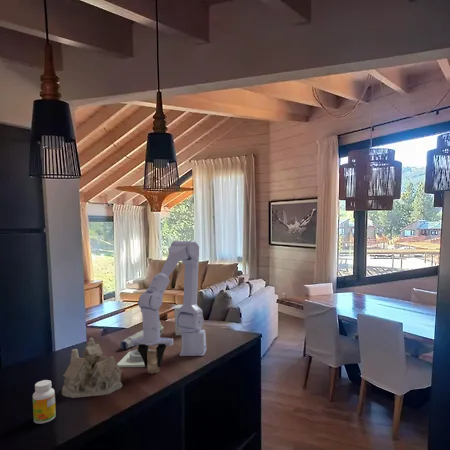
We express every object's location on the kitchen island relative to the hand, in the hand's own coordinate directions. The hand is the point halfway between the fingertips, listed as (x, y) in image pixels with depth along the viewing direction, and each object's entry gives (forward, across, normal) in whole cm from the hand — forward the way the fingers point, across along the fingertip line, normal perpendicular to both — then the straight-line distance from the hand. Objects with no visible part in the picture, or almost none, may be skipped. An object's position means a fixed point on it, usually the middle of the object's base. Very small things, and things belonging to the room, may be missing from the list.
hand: (153, 365), depth 130 cm
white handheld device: (+2, -14, +34) cm, 37 cm away
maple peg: (+2, 0, 0) cm, 2 cm away
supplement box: (+2, +2, +44) cm, 44 cm away
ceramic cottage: (+2, -16, -13) cm, 21 cm away
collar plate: (+2, -8, +11) cm, 14 cm away
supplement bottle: (+2, -21, -31) cm, 38 cm away
